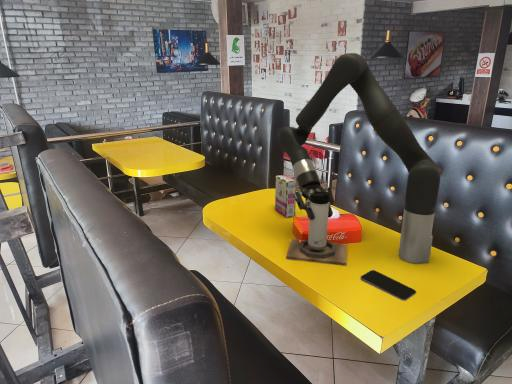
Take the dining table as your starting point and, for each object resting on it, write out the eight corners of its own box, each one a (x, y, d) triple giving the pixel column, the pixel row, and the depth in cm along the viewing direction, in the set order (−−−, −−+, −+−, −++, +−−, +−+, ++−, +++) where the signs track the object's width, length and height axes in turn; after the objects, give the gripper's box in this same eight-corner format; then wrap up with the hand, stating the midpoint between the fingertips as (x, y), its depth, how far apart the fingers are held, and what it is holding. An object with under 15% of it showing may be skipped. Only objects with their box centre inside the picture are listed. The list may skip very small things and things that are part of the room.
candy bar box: (295, 216, 162) (297, 180, 157) (285, 218, 160) (286, 182, 155) (284, 208, 172) (285, 174, 167) (274, 209, 170) (275, 175, 165)
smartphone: (404, 300, 102) (359, 277, 113) (403, 304, 103) (358, 280, 113) (417, 291, 107) (372, 269, 117) (417, 294, 107) (372, 272, 118)
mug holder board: (346, 246, 134) (347, 240, 133) (346, 265, 121) (347, 258, 120) (291, 241, 138) (291, 235, 138) (285, 258, 125) (286, 252, 125)
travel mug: (318, 252, 125) (321, 196, 119) (304, 245, 130) (306, 191, 123) (330, 247, 129) (334, 192, 122) (316, 240, 134) (319, 187, 127)
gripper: (291, 171, 125) (307, 216, 118) (328, 167, 130) (345, 210, 123) (284, 182, 131) (298, 225, 125) (319, 178, 136) (335, 219, 130)
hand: (321, 217), depth 124 cm, fingers closed on travel mug, 6 cm apart
